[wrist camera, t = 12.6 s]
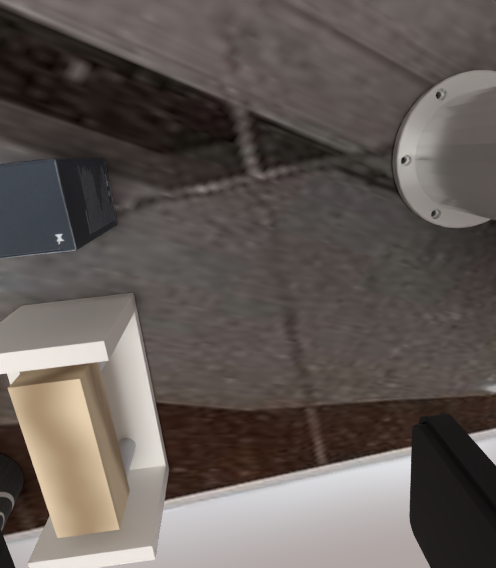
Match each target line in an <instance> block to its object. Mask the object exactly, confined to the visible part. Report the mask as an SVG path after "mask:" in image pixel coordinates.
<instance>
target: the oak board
mask: <svg viewBox="0 0 496 568" xmlns="http://www.w3.org/2000/svg"><path fill="white" fill-rule="evenodd" d="M8 390H9V393H10V396H11V399H12V402H13V405H14V408H15V411H16V414H17V418H18V421H19V424H20V427H21V430H22V433H23V436H24V439H25V442H26V445H27V448H28V451H29V454H30V457H31V460H32V463H33V466H34V469H35V472H36V475H37V478H38V481H39V484H40V487H41V490H42V493H43V496H44V499H45V502H46V505H47V508H48V511H49V514H50V517H51V520H52V523H53V526H54V529H55V532H56V535H57V538H62V537H70V536H77V535H84V534H91V533H98V532H106V531H113V530H120V526H121V523H122V519H123V515H124V511H125V507H126V503H127V500H128V496H129V492H130V489H129V485H128V481H127V477H126V473H125V469H124V465H123V460H122V456H121V452H120V448H119V444H118V440H117V436H116V432H115V428H114V424H113V420H112V415H111V411H110V407H109V403H108V399H107V395H106V391H105V387H104V383H103V379H102V375H101V371H100V366H99V362H95V363H86V364H78V365H70V366H62V367H54V368H46V369H38V370H30V371H23V372H22V373H21V374H20V375H19V376H18V377H17V378H16V379H15V380H14V382H13V383H12V384H11V385H10V386H9V387H8Z"/></svg>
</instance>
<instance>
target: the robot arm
mask: <svg viewBox="0 0 496 568" xmlns="http://www.w3.org/2000/svg"><path fill="white" fill-rule="evenodd" d="M436 93H437V94H438V98H436ZM402 157H403V158H404V162H403V163H401V159H402ZM392 166H393V174H394V180H395V183H396V186H397V189H398V192H399V194H400V195H401V197H402V199H403V201H404V202H405V204H406V205H407V206H408V207H409V208H410V209H411V210H412V211H413V213H415V214H416V215H418V216H419V217H421V218H422V219H423V220H426V221H428V222H431V223H433V224H436V225H439V226H443V227H448V228H465V227H473V226H476V225H479V224H482V223H485V222H487V221H489V220H491V219H492V220H496V71H492V70H473V71H468V72H464V73H460V74H457V75H454V76H451V77H448V78H446V79H445V80H443V81H441V82H439V83H437V84H435V85H434V86H433V87H431V88H430V89H429V90H428V91H426V92H425V93H424V94H423V95H421V97H420V98H419V99H418V100H417V101H416V102H415V103H414V105H413V106H412V107H411V108H410V110H409V111H408V113H407V115H406V116H405V118H404V119H403V121H402V124H401V126H400V128H399V131H398V133H397V136H396V140H395V145H394V149H393V163H392ZM432 211H433V214H432V215H431V213H432ZM410 524H411V528H412V531H413V533H414V536H415V538H416V540H417V542H418V544H419V546H420V548H421V550H422V551H423V554H424V556H425V558H426V559H427V561H428V563H429V565H430V567H431V568H496V466H495V465H494V463H493V462H492V461H491V460H490V459H489V458H488V457H487V455H486V454H485V453H484V452H483V451H482V450H481V449H480V448H479V446H478V445H477V444H476V443H475V442H474V441H473V440H472V439H471V437H470V436H469V435H468V434H467V433H466V432H465V431H464V430H463V428H462V427H461V426H460V425H459V424H458V423H457V422H456V421H455V419H454V418H453V417H452V416H450V415H449V414H440V415H433V416H425V417H421V418H420V420H419V424H418V425H414V426H413V429H412V455H411V487H410ZM0 568H15V566H14V563H13V560H12V558H11V555H10V553H9V550H8V547H7V545H6V542H5V540H4V537H3V534H2V532H1V529H0Z"/></svg>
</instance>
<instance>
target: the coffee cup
mask: <svg viewBox="0 0 496 568" xmlns="http://www.w3.org/2000/svg"><path fill="white" fill-rule="evenodd" d="M23 483H24V477H23V473H22V471H21V469H20V467H19V466H18V465H17V464H16V463H15V462H14V461H13V460H12V459H10V458H9V457H7V456H5V455H2V454H0V529H1V532H2V530H3V528H4V526H5V524H6V522H7V519H8V517H9V515H10V513H11V511H12V509H13V507H14V504H15V502H16V500H17V498H18V496H19V494H20V492H21V489H22V487H23Z"/></svg>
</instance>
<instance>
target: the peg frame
mask: <svg viewBox="0 0 496 568" xmlns="http://www.w3.org/2000/svg"><path fill="white" fill-rule="evenodd" d="M95 362H99V366H100V371H101V375H102V379H103V383H104V387H105V391H106V395H107V399H108V403H109V407H110V411H111V415H112V420H113V424H114V428H115V432H116V436H117V440H118V444H119V448H120V452H121V456H122V460H123V465H124V469H125V473H126V477H127V481H128V485H129V489H130V492H129V496H128V500H127V503H126V507H125V511H124V515H123V519H122V523H121V526H120V530H113V531H106V532H98V533H91V534H84V535H77V536H70V537H62V538H57V535H56V532H55V529H54V526H53V523H52V520H51V517H50V516H49V519H48V521H47V523H46V525H45V527H44V529H43V531H42V534H41V536H40V538H39V540H38V542H37V544H36V547H35V549H34V551H33V553H32V555H31V557H30V559H29V562H28V566H29V568H98V567H105V566H112V565H120V564H127V563H134V562H140V561H147V560H155V558H156V551H157V545H158V538H159V532H160V525H161V519H162V512H163V506H164V500H165V493H166V487H167V480H168V474H169V467H168V462H167V457H166V452H165V447H164V442H163V437H162V432H161V427H160V422H159V417H158V412H157V407H156V402H155V397H154V392H153V387H152V382H151V377H150V372H149V367H148V362H147V357H146V352H145V347H144V342H143V337H142V332H141V327H140V322H139V317H138V312H137V307H136V302H135V297H134V292H133V293H125V294H116V295H108V296H99V297H91V298H82V299H74V300H65V301H57V302H48V303H40V304H31V305H23V306H21V307H19V308H18V309H17V310H15V311H14V312H13V313H12V314H10V315H9V316H8V317H6V318H5V319H4V320H3V321H1V322H0V374H6V373H7V375H8V378H9V382H10V385H11V384H12V383H13V382H14V380H15V379H16V378H17V377H18V376H19V375H20V374H21V373H22V372H23V371H30V370H38V369H46V368H54V367H62V366H70V365H78V364H86V363H95Z"/></svg>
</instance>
